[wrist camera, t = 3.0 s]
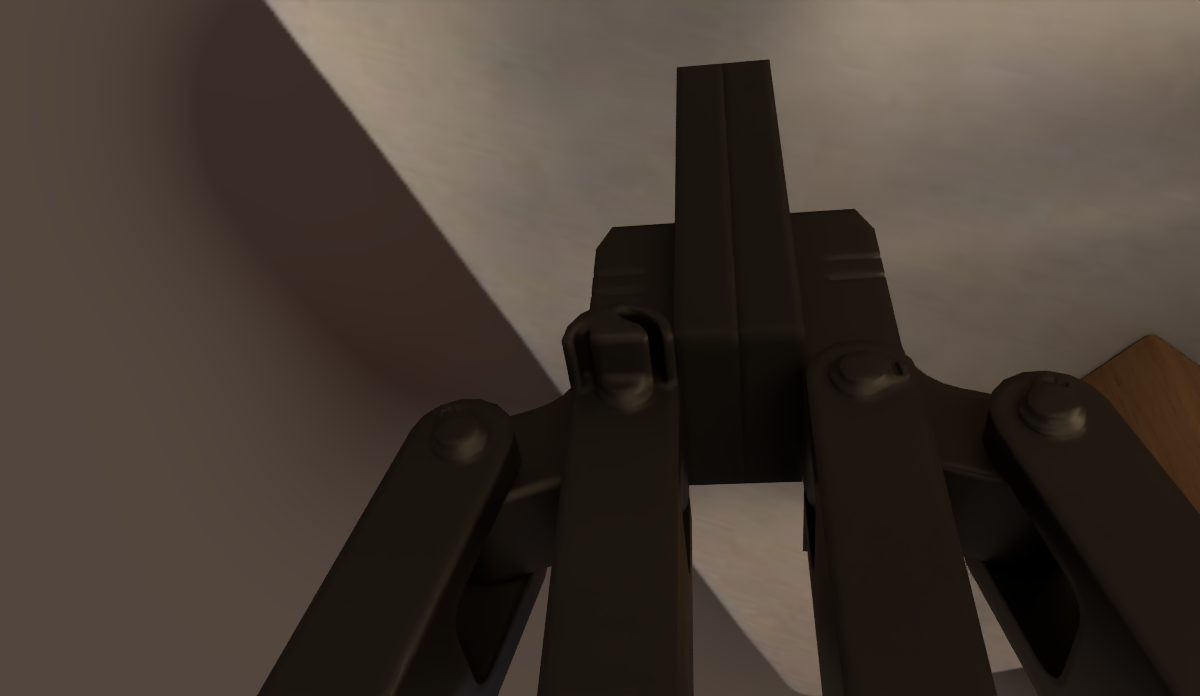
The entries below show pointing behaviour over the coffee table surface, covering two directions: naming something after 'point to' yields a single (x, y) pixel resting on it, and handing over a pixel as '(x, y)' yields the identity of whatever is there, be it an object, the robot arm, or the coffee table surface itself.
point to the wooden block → (1158, 406)
